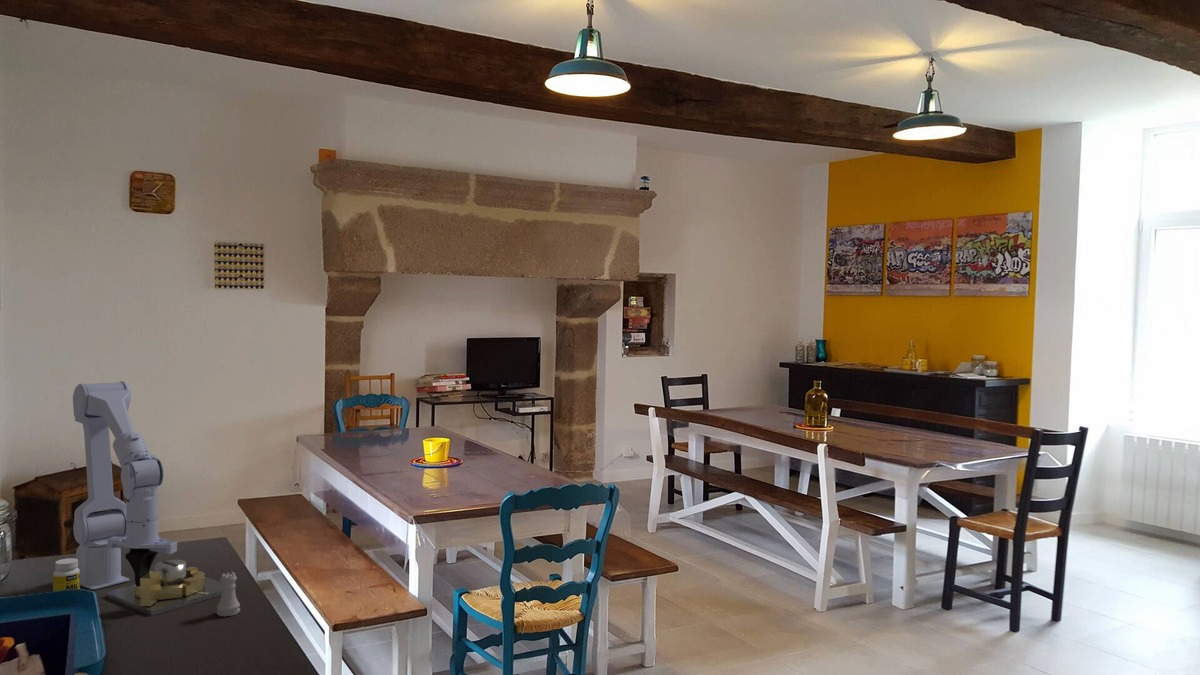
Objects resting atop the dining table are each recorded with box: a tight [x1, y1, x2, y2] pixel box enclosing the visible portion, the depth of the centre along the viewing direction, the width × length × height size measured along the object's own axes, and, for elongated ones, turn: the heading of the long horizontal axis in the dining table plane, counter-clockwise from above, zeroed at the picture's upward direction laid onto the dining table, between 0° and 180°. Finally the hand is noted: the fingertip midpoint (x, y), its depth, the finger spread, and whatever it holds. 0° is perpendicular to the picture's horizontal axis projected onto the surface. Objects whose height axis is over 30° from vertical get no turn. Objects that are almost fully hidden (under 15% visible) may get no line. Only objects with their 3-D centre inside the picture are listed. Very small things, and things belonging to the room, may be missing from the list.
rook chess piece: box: [216, 571, 241, 618], centre depth 175 cm, size 4×4×8 cm
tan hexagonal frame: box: [134, 566, 206, 606], centre depth 183 cm, size 13×17×6 cm
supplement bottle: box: [52, 557, 81, 592], centre depth 180 cm, size 5×5×8 cm
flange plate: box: [104, 559, 222, 617], centre depth 185 cm, size 18×18×7 cm
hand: (142, 585), depth 177 cm, fingers closed
